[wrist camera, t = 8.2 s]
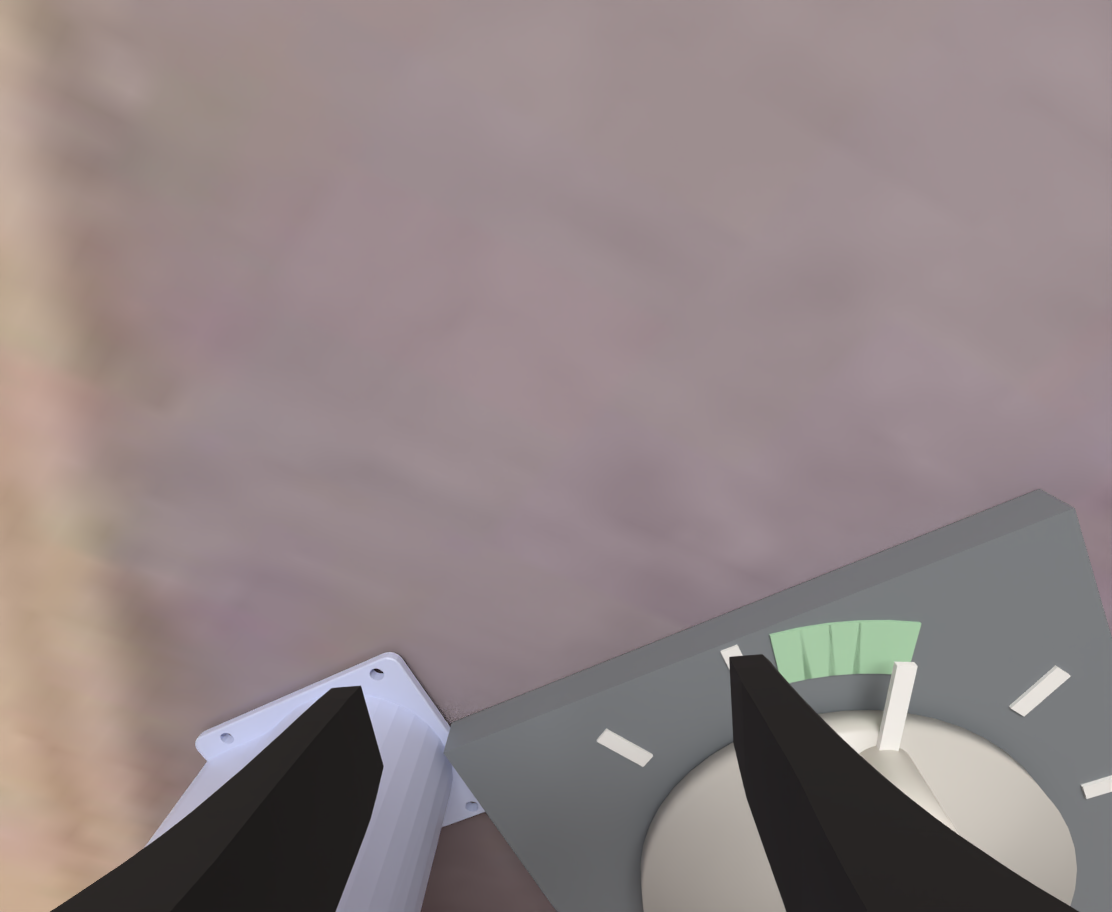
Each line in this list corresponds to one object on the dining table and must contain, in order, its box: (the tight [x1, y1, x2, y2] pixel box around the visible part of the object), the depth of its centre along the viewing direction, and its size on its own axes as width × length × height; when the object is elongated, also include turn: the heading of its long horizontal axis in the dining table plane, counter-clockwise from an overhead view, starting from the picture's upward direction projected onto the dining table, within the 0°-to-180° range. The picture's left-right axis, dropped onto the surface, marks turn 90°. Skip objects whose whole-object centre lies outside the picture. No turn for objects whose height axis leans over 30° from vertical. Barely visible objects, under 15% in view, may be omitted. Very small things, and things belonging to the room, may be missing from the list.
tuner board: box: [444, 489, 1112, 912], centre depth 24 cm, size 22×22×2 cm
